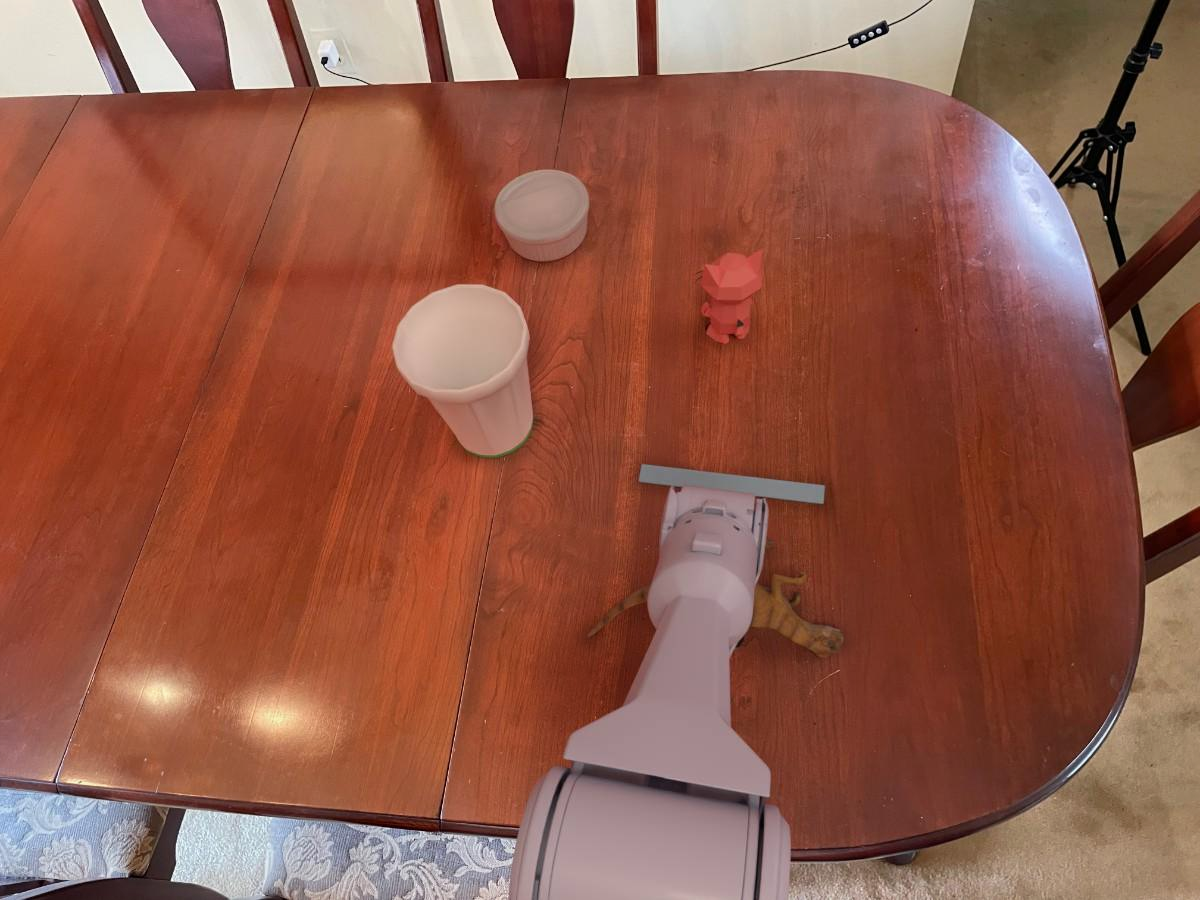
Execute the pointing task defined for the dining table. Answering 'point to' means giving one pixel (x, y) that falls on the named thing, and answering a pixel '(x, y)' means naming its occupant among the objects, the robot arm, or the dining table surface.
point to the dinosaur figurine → (765, 615)
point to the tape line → (733, 483)
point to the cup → (470, 365)
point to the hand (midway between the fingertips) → (710, 640)
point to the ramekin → (543, 214)
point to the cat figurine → (731, 293)
